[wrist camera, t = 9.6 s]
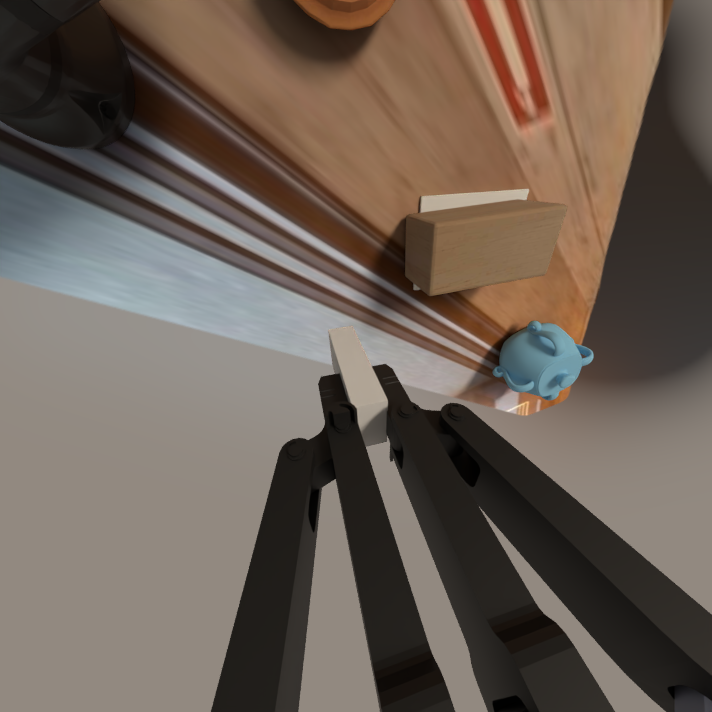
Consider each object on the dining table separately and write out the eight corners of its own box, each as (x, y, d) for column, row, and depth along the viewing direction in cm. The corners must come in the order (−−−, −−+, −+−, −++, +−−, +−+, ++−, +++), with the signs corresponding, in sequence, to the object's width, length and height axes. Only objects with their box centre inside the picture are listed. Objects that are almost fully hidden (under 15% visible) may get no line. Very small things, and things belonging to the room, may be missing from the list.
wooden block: (403, 276, 48) (504, 259, 50) (428, 297, 40) (546, 276, 42) (404, 214, 42) (518, 198, 45) (434, 223, 34) (570, 204, 37)
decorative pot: (562, 332, 66) (619, 364, 55) (515, 381, 72) (557, 418, 61) (526, 306, 59) (583, 336, 48) (477, 362, 65) (517, 401, 54)
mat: (420, 196, 41) (421, 196, 41) (527, 188, 45) (529, 189, 44) (413, 289, 50) (413, 290, 50) (503, 277, 53) (504, 278, 53)
